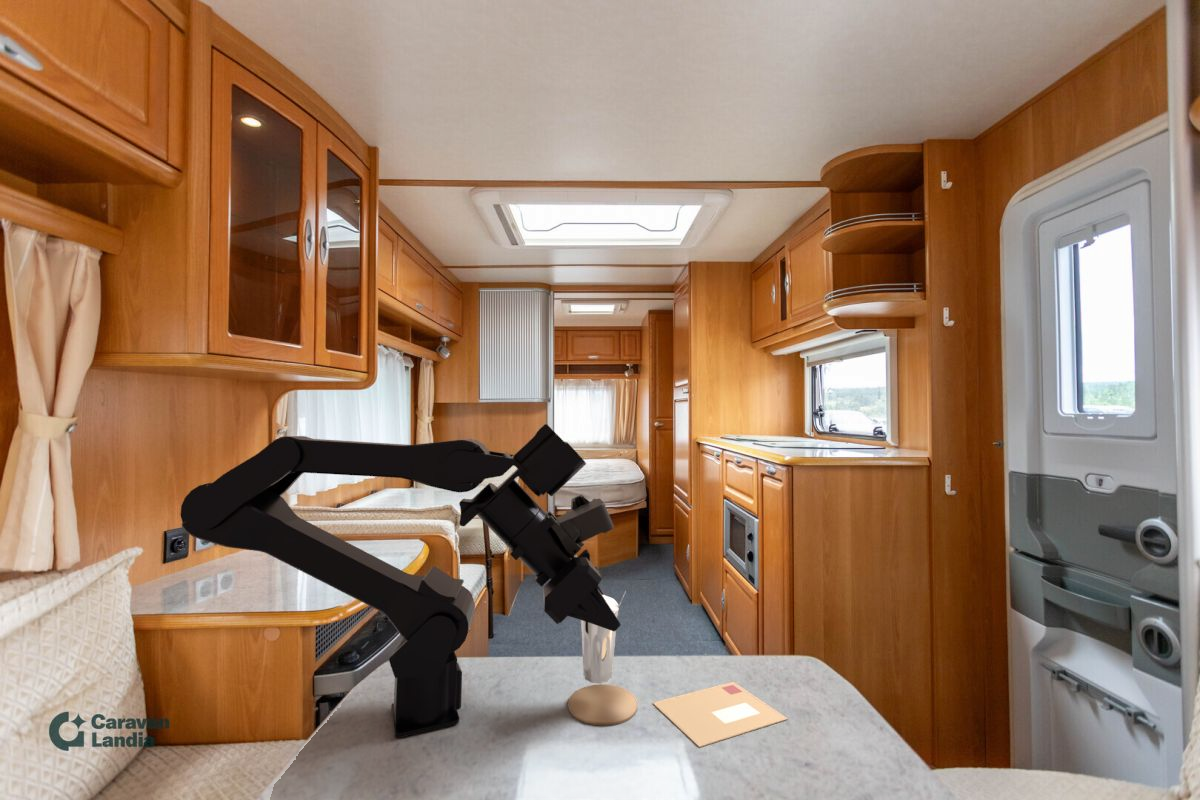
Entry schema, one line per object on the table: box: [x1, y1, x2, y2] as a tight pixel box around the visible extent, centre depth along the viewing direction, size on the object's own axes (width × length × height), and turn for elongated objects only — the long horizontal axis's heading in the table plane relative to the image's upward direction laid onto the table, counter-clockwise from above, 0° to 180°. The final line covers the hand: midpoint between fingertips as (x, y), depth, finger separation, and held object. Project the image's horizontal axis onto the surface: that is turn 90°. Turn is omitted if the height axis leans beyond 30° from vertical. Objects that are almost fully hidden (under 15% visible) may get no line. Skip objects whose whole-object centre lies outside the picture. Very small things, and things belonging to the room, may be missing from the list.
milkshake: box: [580, 590, 627, 684], centre depth 59 cm, size 4×5×10 cm
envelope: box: [652, 681, 788, 748], centre depth 57 cm, size 12×9×1 cm
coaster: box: [567, 683, 638, 727], centre depth 58 cm, size 8×8×1 cm
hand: (614, 620), depth 59 cm, fingers closed on milkshake, 4 cm apart
